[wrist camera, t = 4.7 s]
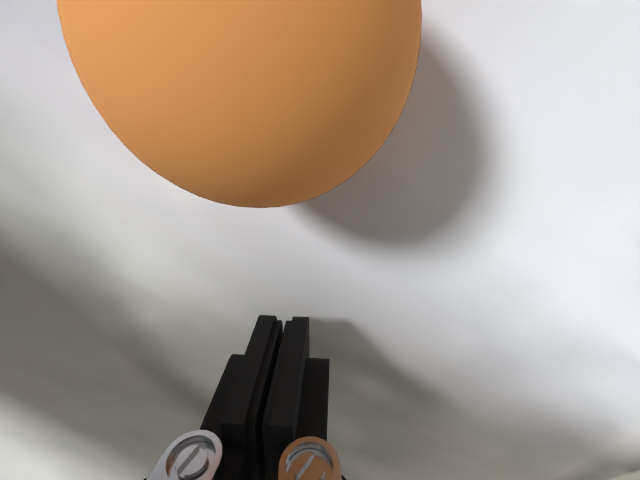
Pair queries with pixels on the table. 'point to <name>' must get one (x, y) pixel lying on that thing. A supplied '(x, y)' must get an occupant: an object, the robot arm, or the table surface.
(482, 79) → the table surface
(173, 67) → the ball
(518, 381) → the table surface
